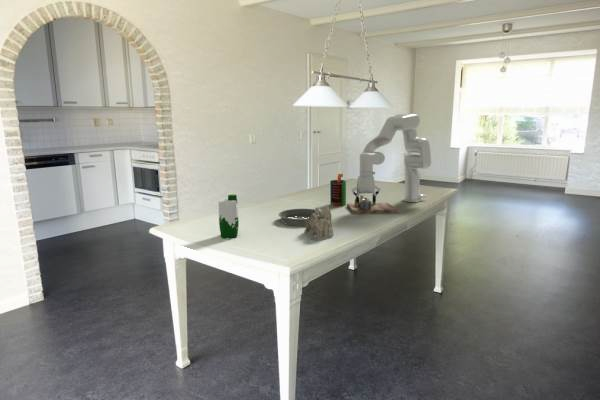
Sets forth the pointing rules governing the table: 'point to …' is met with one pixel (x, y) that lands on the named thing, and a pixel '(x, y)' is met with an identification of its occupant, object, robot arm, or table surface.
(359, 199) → the brass gear
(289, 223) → the cake pan
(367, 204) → the steel gear
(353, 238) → the table surface
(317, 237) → the grey rough lump
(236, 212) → the milk carton
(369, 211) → the board
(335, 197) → the motor
